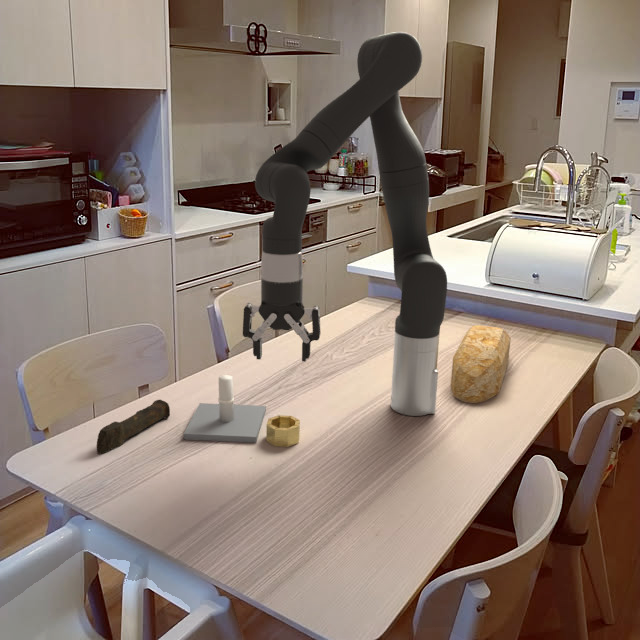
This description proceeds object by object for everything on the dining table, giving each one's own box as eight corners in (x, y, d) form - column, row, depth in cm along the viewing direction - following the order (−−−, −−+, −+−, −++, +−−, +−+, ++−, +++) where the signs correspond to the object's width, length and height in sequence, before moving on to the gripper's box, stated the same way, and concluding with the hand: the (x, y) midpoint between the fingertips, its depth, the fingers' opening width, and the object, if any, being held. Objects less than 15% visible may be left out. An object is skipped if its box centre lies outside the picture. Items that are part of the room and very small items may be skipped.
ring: (300, 432, 140) (300, 416, 139) (297, 447, 134) (298, 430, 133) (269, 430, 141) (269, 414, 139) (265, 445, 135) (265, 429, 134)
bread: (494, 407, 154) (499, 364, 151) (444, 399, 157) (447, 357, 154) (511, 353, 186) (515, 317, 183) (469, 347, 189) (472, 312, 186)
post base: (265, 411, 149) (265, 366, 146) (256, 442, 136) (255, 393, 133) (200, 408, 150) (198, 363, 147) (184, 439, 136) (181, 390, 133)
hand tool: (156, 414, 147) (155, 394, 146) (171, 418, 145) (170, 398, 144) (87, 453, 131) (84, 430, 130) (102, 458, 130) (100, 435, 128)
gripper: (322, 271, 131) (321, 354, 136) (246, 268, 132) (247, 350, 137) (319, 282, 124) (317, 368, 129) (239, 278, 125) (240, 364, 130)
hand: (281, 359), depth 133 cm, fingers open, 8 cm apart
